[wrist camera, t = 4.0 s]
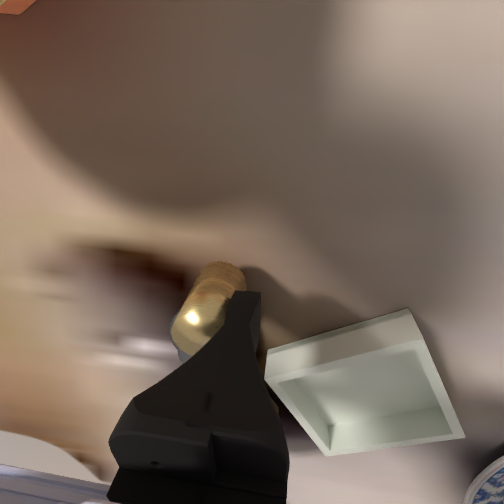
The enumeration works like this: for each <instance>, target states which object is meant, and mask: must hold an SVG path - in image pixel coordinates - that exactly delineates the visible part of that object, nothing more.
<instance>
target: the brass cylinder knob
mask: <svg viewBox="0 0 504 504" xmlns="http://www.w3.org/2000/svg"><path fill="white" fill-rule="evenodd" d="M246 285H247V283H246V278H245V276H244V274H243V273H242V272H241V271H240V269H238V268H237V267H236V266H234V265H232V264H230V263H227V262H220V261H218V262H212V263H209V264H207V265H206V266H205V267H203V269H202V270H201V272H200V274H199V276H198V278H197V279H196V281H195V283H194V285H193V287H192V289H191V291H190V293H189V295H188V297H187V299H186V300H185V302H184V304H183V306H182V308H181V310H180V312H179V314H178V316H177V318H176V319H175V321H174V323H173V325H172V328H171V335H172V338H173V341H174V342H175V344H176V345H177V346H178V347H179V349H178V356H179V358H180V360H181V361H182V363H183V364H184V363H185V362H186V361H187V360H188V359H190V358H191V357H192V356H193V355H194V354H195V353H196V352H198V351H199V350H200V349H201V348H202V347H203V346H204V345H205V344H206V343H207V342H208V341H209V340H210V339H211V338H212V337H213V336H214V334H215V333H216V332H217V331H218V330H219V329H220V328H221V326H222V325H223V324H224V322H225V318H226V314H227V310H228V306H229V302H230V299H231V297H232V295H233V293H234V291H235V290H239V291H245V290H246Z"/></svg>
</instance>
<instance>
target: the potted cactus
mask: <svg viewBox="0 0 504 504" xmlns="http://www.w3.org/2000/svg"><path fill="white" fill-rule="evenodd" d="M35 1H36V0H0V13H4V14H14V15H20V14H21V13H22V12H23V11H25V10H26V9H27V8H28V7H29V6H30V5H31V4H33V3H34V2H35Z"/></svg>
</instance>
